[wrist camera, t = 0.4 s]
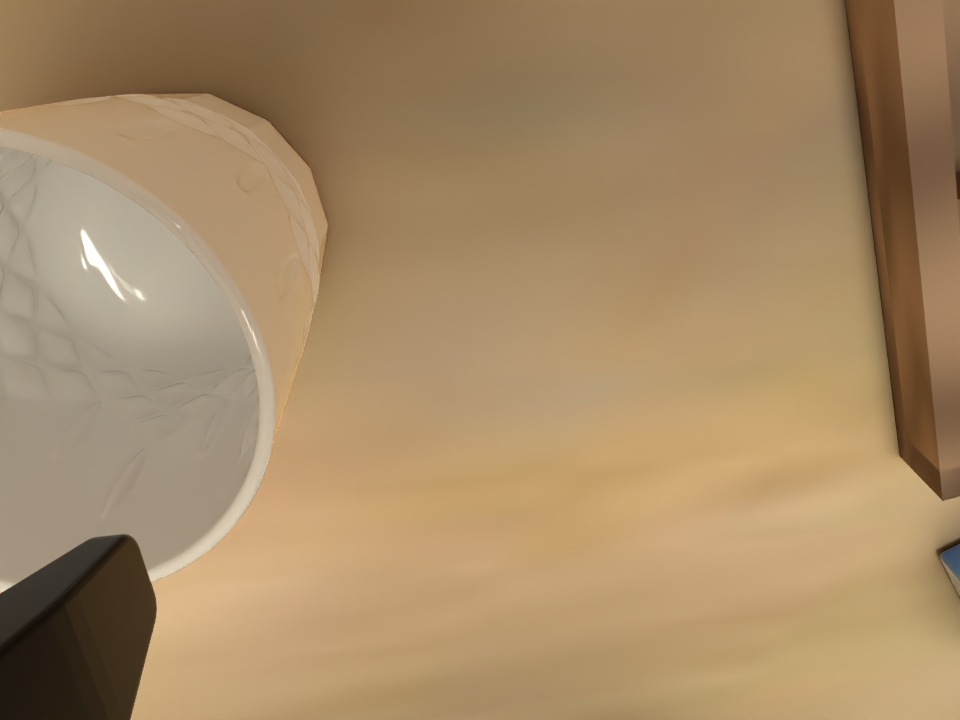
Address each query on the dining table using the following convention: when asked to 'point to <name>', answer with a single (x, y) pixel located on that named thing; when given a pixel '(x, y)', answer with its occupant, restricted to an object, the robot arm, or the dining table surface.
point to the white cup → (145, 320)
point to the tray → (915, 215)
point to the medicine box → (952, 565)
